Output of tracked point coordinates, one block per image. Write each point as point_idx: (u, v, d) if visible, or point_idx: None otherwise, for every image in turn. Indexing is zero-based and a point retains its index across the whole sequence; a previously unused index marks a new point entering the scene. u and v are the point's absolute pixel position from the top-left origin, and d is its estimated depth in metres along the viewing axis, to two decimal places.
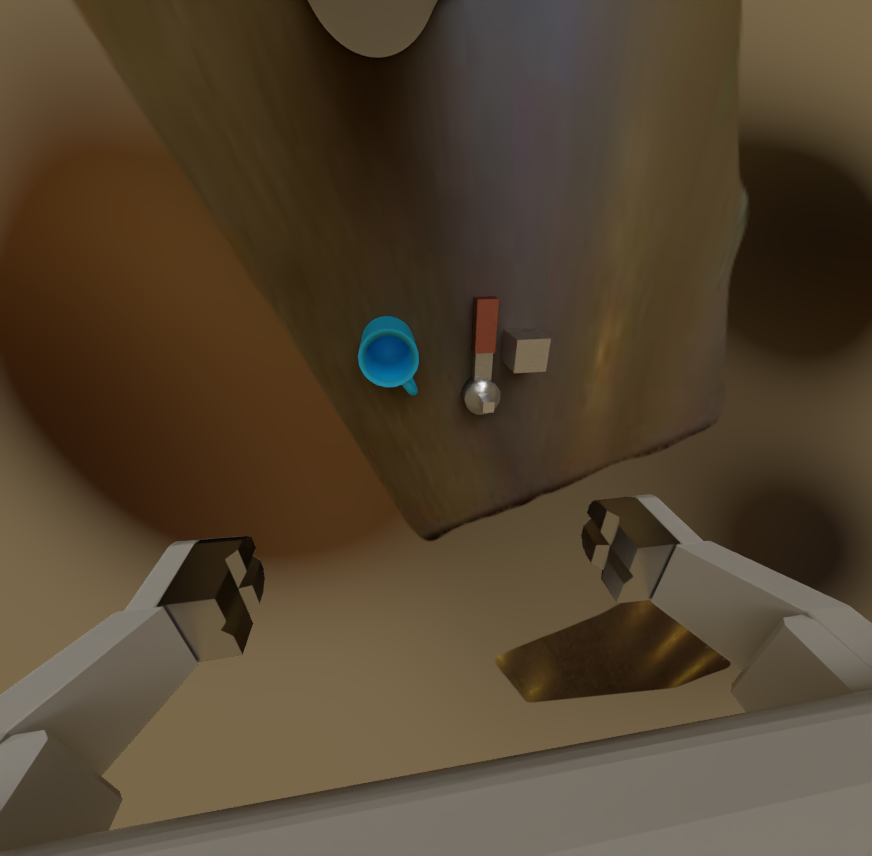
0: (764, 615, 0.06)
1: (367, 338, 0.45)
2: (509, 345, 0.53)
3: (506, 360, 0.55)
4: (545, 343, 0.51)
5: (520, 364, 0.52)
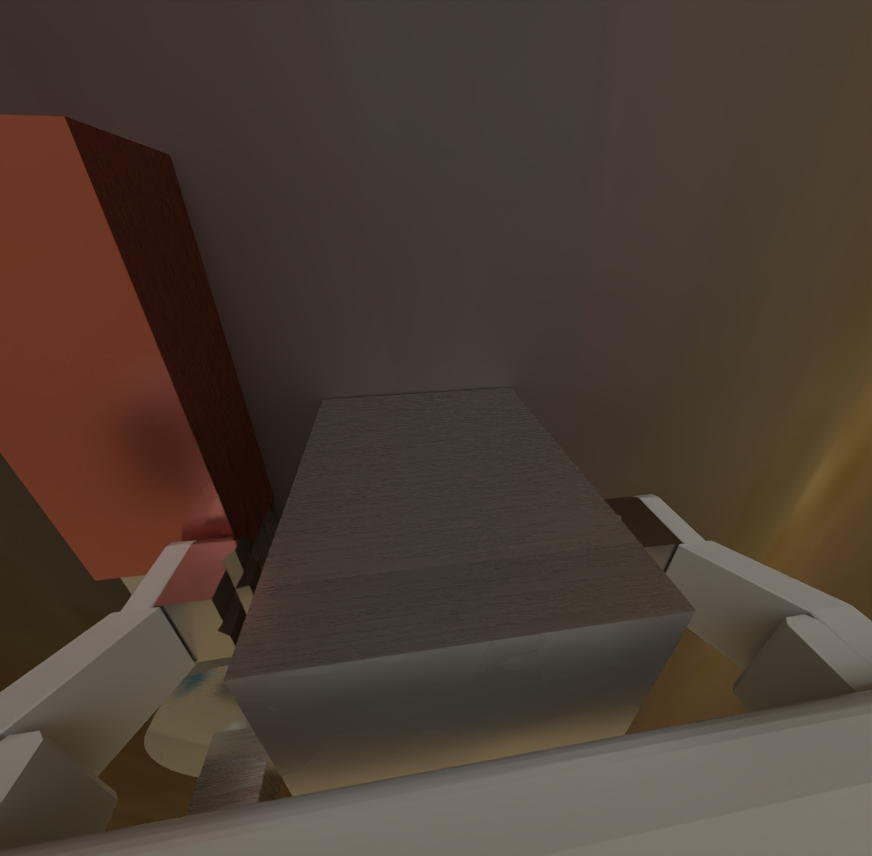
0: (766, 614, 0.06)
1: None
2: None
3: None
4: (622, 655, 0.04)
5: None
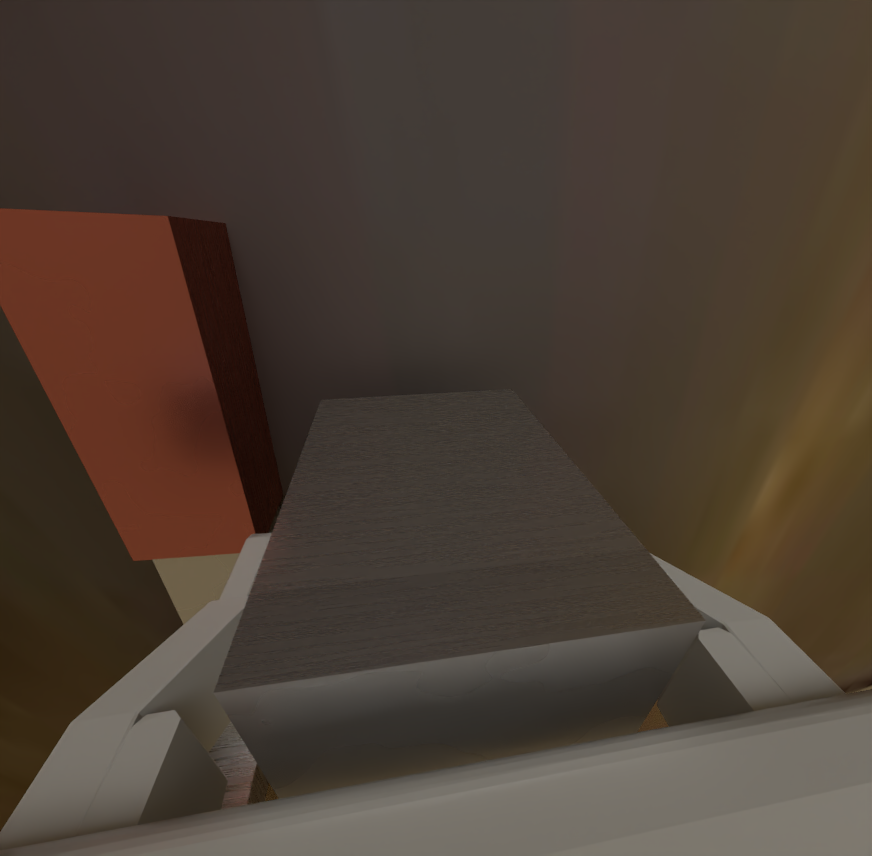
0: None
1: None
2: None
3: None
4: (627, 666, 0.04)
5: None
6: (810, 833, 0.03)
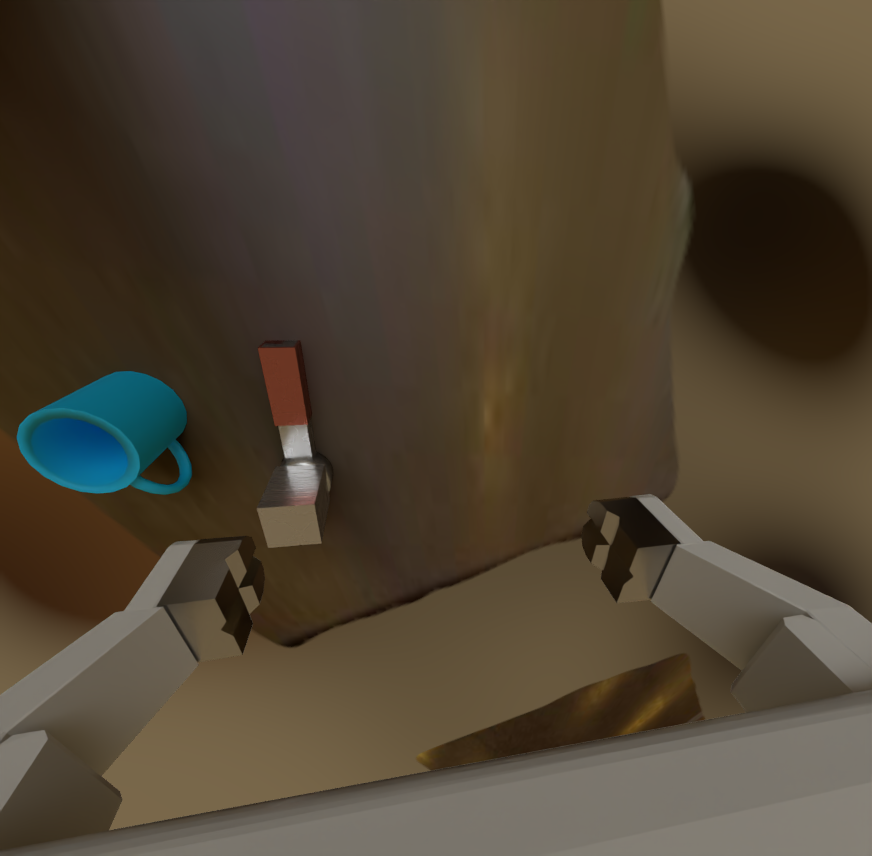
0: (764, 615, 0.06)
1: (24, 423, 0.26)
2: None
3: None
4: (307, 510, 0.32)
5: (275, 537, 0.33)
6: (810, 833, 0.03)
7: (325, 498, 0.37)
